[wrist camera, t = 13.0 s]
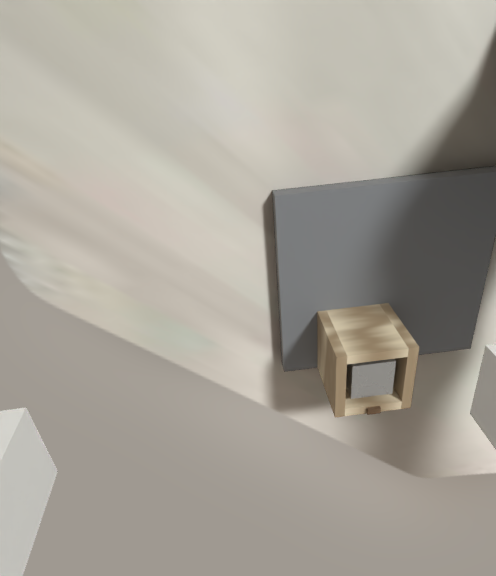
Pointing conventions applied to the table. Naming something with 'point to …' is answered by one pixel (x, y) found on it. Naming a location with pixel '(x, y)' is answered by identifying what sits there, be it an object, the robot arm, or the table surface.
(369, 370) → the steel block
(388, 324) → the hollow wooden cube frame
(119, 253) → the table surface
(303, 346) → the base board
